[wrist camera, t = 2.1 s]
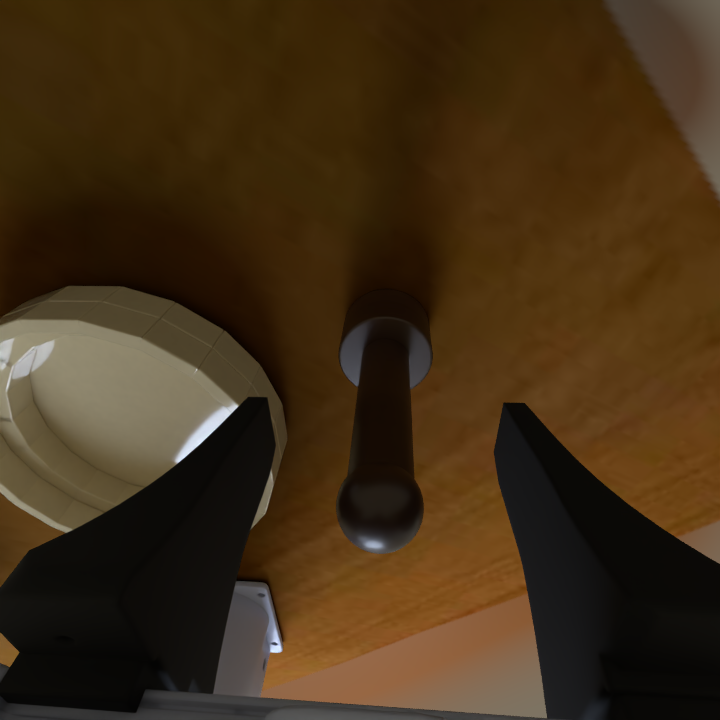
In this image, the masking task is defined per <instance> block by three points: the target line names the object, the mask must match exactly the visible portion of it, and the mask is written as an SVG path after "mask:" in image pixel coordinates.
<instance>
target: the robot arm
mask: <svg viewBox="0 0 720 720" xmlns="http://www.w3.org/2000/svg"><path fill="white" fill-rule="evenodd" d="M275 448H276V442H275V436H274V431H273V425H272V420H271V414H270V408H269V403H268V397H248V398H246V399H245V400H244V401H243V402H242V403H241V404H240V405H239V406H238V407H237V408H236V409H235V410H234V411H233V412H232V413H231V414H230V415H229V416H228V417H227V418H226V419H225V420H224V421H223V422H222V423H221V424H220V425H219V426H218V427H217V428H216V429H215V430H214V431H213V432H212V433H211V434H210V435H209V436H208V437H207V438H206V439H205V440H204V441H203V442H202V443H201V444H199V445H198V446H197V447H196V448H195V449H194V450H193V451H191V452H190V453H189V454H188V455H187V456H186V457H185V458H184V459H182V460H181V461H180V462H179V463H178V464H176V465H175V466H174V467H172V468H171V469H170V470H169V471H167V472H166V473H165V474H163V475H162V476H161V477H159V478H158V479H156V480H155V481H154V482H152V483H151V484H149V485H148V486H147V487H145V488H143V489H142V490H140V491H139V492H137V493H136V494H134V495H133V496H131V497H130V498H128V499H126V500H125V501H123V502H122V503H120V504H119V505H117V506H115V507H114V508H112V509H110V510H108V511H107V512H105V513H103V514H102V515H100V516H98V517H96V518H94V519H92V520H91V521H89V522H87V523H85V524H83V525H81V526H79V527H77V528H75V529H73V530H72V531H69V532H67V533H65V534H63V535H61V536H59V537H57V538H55V539H53V540H51V541H48V542H46V543H44V544H42V545H40V546H38V547H36V548H33V549H31V550H29V551H28V553H27V554H26V555H25V556H24V558H23V559H22V560H21V561H20V563H19V564H18V565H17V567H16V568H15V569H14V571H13V572H12V573H11V574H10V576H9V577H8V578H7V580H6V581H5V582H4V584H3V585H2V586H1V588H0V632H1V633H2V634H3V635H4V637H5V638H6V639H7V640H8V641H9V642H10V643H11V644H12V645H13V646H14V647H15V648H16V649H17V650H18V651H19V652H20V653H19V654H18V656H17V657H16V659H15V660H14V662H13V664H12V665H11V667H8V666H6V665H3V664H1V663H0V720H720V564H719V563H717V562H715V561H713V560H712V559H710V558H708V557H706V556H705V555H703V554H702V553H700V552H698V551H697V550H695V549H694V548H692V547H690V546H689V545H687V544H685V543H684V542H682V541H680V540H679V539H677V538H676V537H674V536H673V535H671V534H670V533H668V532H667V531H665V530H664V529H662V528H661V527H659V526H658V525H656V524H655V523H654V522H652V521H651V520H649V519H648V518H646V517H645V516H644V515H642V514H641V513H639V512H638V511H637V510H635V509H634V508H633V507H631V506H630V505H629V504H627V503H626V502H625V501H624V500H622V499H621V498H620V497H619V496H617V495H616V494H615V493H614V492H612V491H611V490H610V489H609V488H608V487H606V486H605V485H604V484H603V483H602V482H601V481H599V480H598V479H597V478H596V477H595V476H594V475H593V474H592V473H591V472H589V471H588V470H587V469H586V468H585V467H584V466H583V465H582V464H581V463H580V462H579V461H578V460H577V459H576V458H575V457H574V456H573V455H572V454H571V453H570V452H569V451H568V450H567V449H566V448H565V447H564V446H563V445H562V444H561V443H560V442H559V441H558V440H557V439H556V437H555V436H554V435H553V434H552V433H551V432H550V431H549V430H548V429H547V428H546V426H545V425H544V424H543V423H542V422H541V421H540V420H539V419H538V417H537V416H536V415H535V414H534V413H533V412H532V411H531V410H530V408H529V407H528V406H527V405H526V404H525V403H503V408H502V414H501V419H500V424H499V429H498V434H497V439H496V444H495V449H494V456H495V463H496V469H497V475H498V481H499V485H500V489H501V492H502V496H503V499H504V503H505V506H506V509H507V513H508V516H509V519H510V523H511V526H512V529H513V533H514V536H515V539H516V543H517V546H518V550H519V553H520V557H521V561H522V565H523V570H524V575H525V580H526V586H527V591H528V596H529V602H530V607H531V613H532V619H533V624H534V630H535V636H536V643H537V649H538V656H539V662H540V669H541V675H542V683H543V690H544V698H545V705H546V713H547V718H532V717H520V716H506V715H492V714H479V713H465V712H451V711H438V710H424V709H410V708H397V707H383V706H369V705H356V704H342V703H327V702H315V701H301V700H287V699H273V698H260V696H261V691H262V686H263V682H264V677H265V672H266V668H267V663H268V659H269V654H270V652H275V653H279V652H281V651H282V650H283V642H282V638H281V634H280V630H279V626H278V622H277V618H276V614H275V610H274V606H273V602H272V598H271V595H270V591H269V587H268V585H267V584H266V583H263V582H249V581H236V579H237V575H238V571H239V567H240V563H241V559H242V555H243V551H244V548H245V545H246V541H247V538H248V535H249V532H250V530H251V527H252V524H253V521H254V518H255V516H256V513H257V510H258V507H259V504H260V502H261V499H262V496H263V493H264V490H265V487H266V484H267V482H268V479H269V476H270V472H271V467H272V463H273V458H274V453H275Z"/></svg>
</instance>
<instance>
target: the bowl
mask: <svg viewBox="0 0 720 720" xmlns="http://www.w3.org/2000/svg"><path fill="white" fill-rule="evenodd" d="M248 397H268V403H269V408H270V414H271V420H272V425H273V431H274V436H275V442H276V448H275V453H274V458H273V463H272V467H271V472H270V476H269V479H268V482H267V484H266V487H265V490H264V493H263V496H262V499H261V502H260V504H259V507H258V510H257V513H256V516H255V518H254V521H253V524H252V527H251V529H252V528H253V527H254V525H255V524H256V523H257V522H258V521H259V520H260V519H261V518H262V517H263V516H264V515H265V513H266V512H267V508H268V505H269V502H270V498H271V495H272V491H273V488H274V485H275V481H276V478H277V474H278V471H279V468H280V464H281V460H282V457H283V453H284V450H285V446H286V443H287V438H288V437H287V431H286V424H285V418H284V412H283V405H282V403H281V400H280V399H279V397H278V395H277V393H276V392H275V390H274V388H273V386H272V384H271V383H270V381H269V379H268V377H267V375H266V374H265V372H264V370H263V368H262V367H261V366H260V364H259V363H258V362H257V361H256V360H255V359H254V358H253V357H252V356H251V355H250V354H249V353H248V352H247V351H246V350H245V349H244V348H243V347H242V346H241V345H240V344H239V343H238V342H236V341H235V340H234V339H233V338H232V337H231V336H230V335H229V334H228V333H227V332H226V331H223V329H222V328H220V327H218V326H216V325H215V324H213V323H211V322H210V321H208V320H206V319H204V318H203V317H201V316H199V315H197V314H196V313H194V312H192V311H191V310H189V309H187V308H185V307H184V306H182V305H180V304H178V303H175V302H174V301H171V300H168V299H164V298H161V297H157V296H154V295H150V294H147V293H143V292H140V291H136V290H133V289H130V288H126V287H121V286H67V287H64V288H61V289H58V290H56V291H53V292H50V293H47V294H45V295H42V296H39V297H36V298H33V299H31V300H28V301H27V302H25V303H23V304H22V305H20V306H19V307H17V308H15V309H14V310H12V311H10V312H9V313H7V314H6V315H4V316H3V317H1V318H0V492H1V493H2V494H3V495H4V496H5V497H6V498H7V499H9V500H10V501H11V502H12V503H13V504H15V505H16V506H18V507H20V508H21V509H23V510H25V511H26V512H28V513H30V514H31V515H33V516H35V517H36V518H38V519H40V520H41V521H43V522H45V523H46V524H48V525H50V526H51V527H54V528H56V529H59V530H61V531H64V532H66V533H67V532H69V531H72V530H73V529H75V528H77V527H79V526H81V525H83V524H85V523H87V522H89V521H91V520H92V519H94V518H96V517H98V516H100V515H102V514H103V513H105V512H107V511H108V510H110V509H112V508H114V507H115V506H117V505H119V504H120V503H122V502H123V501H125V500H126V499H128V498H130V497H131V496H133V495H134V494H136V493H137V492H139V491H140V490H142V489H143V488H145V487H147V486H148V485H149V484H151V483H152V482H154V481H155V480H156V479H158V478H159V477H161V476H162V475H163V474H165V473H166V472H167V471H169V470H170V469H171V468H172V467H174V466H175V465H176V464H178V463H179V462H180V461H181V460H182V459H184V458H185V457H186V456H187V455H188V454H189V453H190V452H191V451H193V450H194V449H195V448H196V447H197V446H198V445H199V444H201V443H202V442H203V441H204V440H205V439H206V438H207V437H208V436H209V435H210V434H211V433H212V432H213V431H214V430H215V429H216V428H217V427H218V426H219V425H220V424H221V423H222V422H223V421H224V420H225V419H226V418H227V417H228V416H229V415H230V414H231V413H232V412H233V411H234V410H235V409H236V408H237V407H238V406H239V405H240V404H241V403H242V402H243V401H244V400H245V399H246V398H248Z"/></svg>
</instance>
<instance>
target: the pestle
mask: <svg viewBox="0 0 720 720" xmlns="http://www.w3.org/2000/svg"><path fill="white" fill-rule="evenodd" d="M432 359H433V352H432V345H431V337H430V330H429V322H428V317H427V314H426V312H425V310H424V309H423V307H422V306H421V304H420V303H419V302H418V301H417V300H415V299H414V298H413V297H411V296H410V295H408V294H406V293H403V292H400V291H397V290H390V289H383V290H376V291H373V292H369V293H367V294H365V295H363V296H362V297H360V298H359V299H358V300H356V301H355V302H354V303H353V304H352V306H351V307H350V309H349V310H348V312H347V315H346V318H345V323H344V327H343V332H342V337H341V342H340V347H339V362H340V366H341V368H342V370H343V372H344V374H345V375H346V377H347V378H348V379H349V380H350V381H351V382H352V383H353V384H354V385H355V386H357V387H358V392H357V400H356V409H355V417H354V426H353V434H352V442H351V451H350V459H349V467H348V476H347V477H346V479H345V480H344V482H343V483H342V485H341V487H340V490H339V492H338V496H337V501H336V512H337V518H338V522H339V524H340V527H341V529H342V531H343V532H344V534H345V535H346V537H347V538H348V539H349V540H350V541H351V542H352V543H353V544H354V545H356V546H357V547H359V548H361V549H362V550H365V551H368V552H371V553H378V554H383V553H390V552H394V551H396V550H399V549H401V548H402V547H404V546H405V545H406V544H408V543H409V542H410V541H411V540H412V539H413V538H414V536H415V535H416V533H417V532H418V530H419V528H420V525H421V523H422V519H423V513H424V503H423V497H422V494H421V491H420V488H419V486H418V484H417V483H416V481H415V480H414V459H413V437H412V416H411V394H410V389H412V388H414V387H415V386H417V385H418V384H419V383H420V382H421V381H422V380H423V379H424V378H425V377H426V375H427V374H428V372H429V370H430V367H431V364H432Z"/></svg>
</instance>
